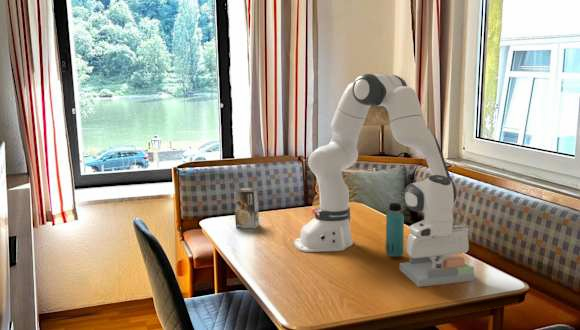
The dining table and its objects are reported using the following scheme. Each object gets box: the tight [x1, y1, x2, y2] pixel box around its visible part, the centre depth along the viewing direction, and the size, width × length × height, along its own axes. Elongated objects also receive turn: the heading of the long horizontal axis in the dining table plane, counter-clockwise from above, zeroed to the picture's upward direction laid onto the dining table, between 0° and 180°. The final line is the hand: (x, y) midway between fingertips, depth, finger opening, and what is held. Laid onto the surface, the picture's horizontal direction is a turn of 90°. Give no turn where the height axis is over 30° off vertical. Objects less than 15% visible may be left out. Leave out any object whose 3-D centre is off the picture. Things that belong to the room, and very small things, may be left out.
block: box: [440, 254, 466, 269], centre depth 192 cm, size 6×5×4 cm
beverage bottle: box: [385, 202, 405, 257], centre depth 210 cm, size 6×7×20 cm
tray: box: [399, 256, 475, 288], centre depth 194 cm, size 19×15×4 cm
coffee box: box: [233, 187, 260, 229], centre depth 251 cm, size 9×6×16 cm
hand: (437, 267), depth 191 cm, fingers closed
